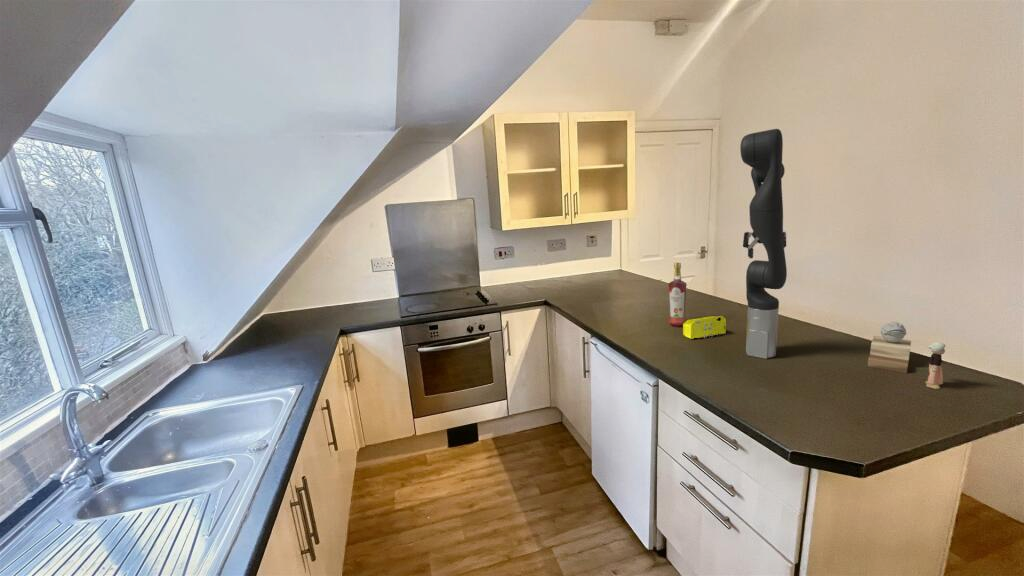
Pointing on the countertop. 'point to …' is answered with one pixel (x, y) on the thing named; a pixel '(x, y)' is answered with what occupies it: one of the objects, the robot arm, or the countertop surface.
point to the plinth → (889, 354)
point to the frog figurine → (893, 332)
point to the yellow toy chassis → (704, 327)
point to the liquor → (677, 298)
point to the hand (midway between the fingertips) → (763, 258)
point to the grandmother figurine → (935, 365)
